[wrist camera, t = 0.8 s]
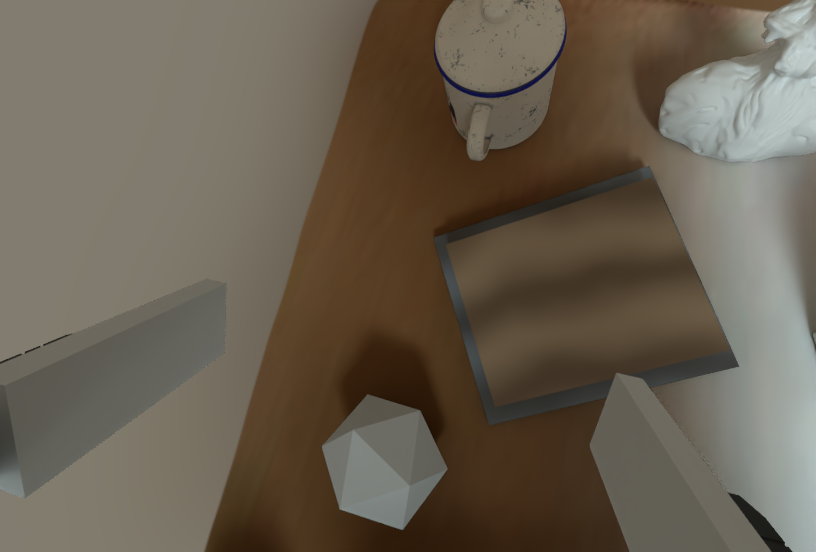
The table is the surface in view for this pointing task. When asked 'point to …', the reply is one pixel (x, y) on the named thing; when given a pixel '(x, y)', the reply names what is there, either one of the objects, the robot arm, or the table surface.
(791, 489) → the table surface
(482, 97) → the teacup with lid
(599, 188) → the pedestal
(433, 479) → the die
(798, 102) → the bust
